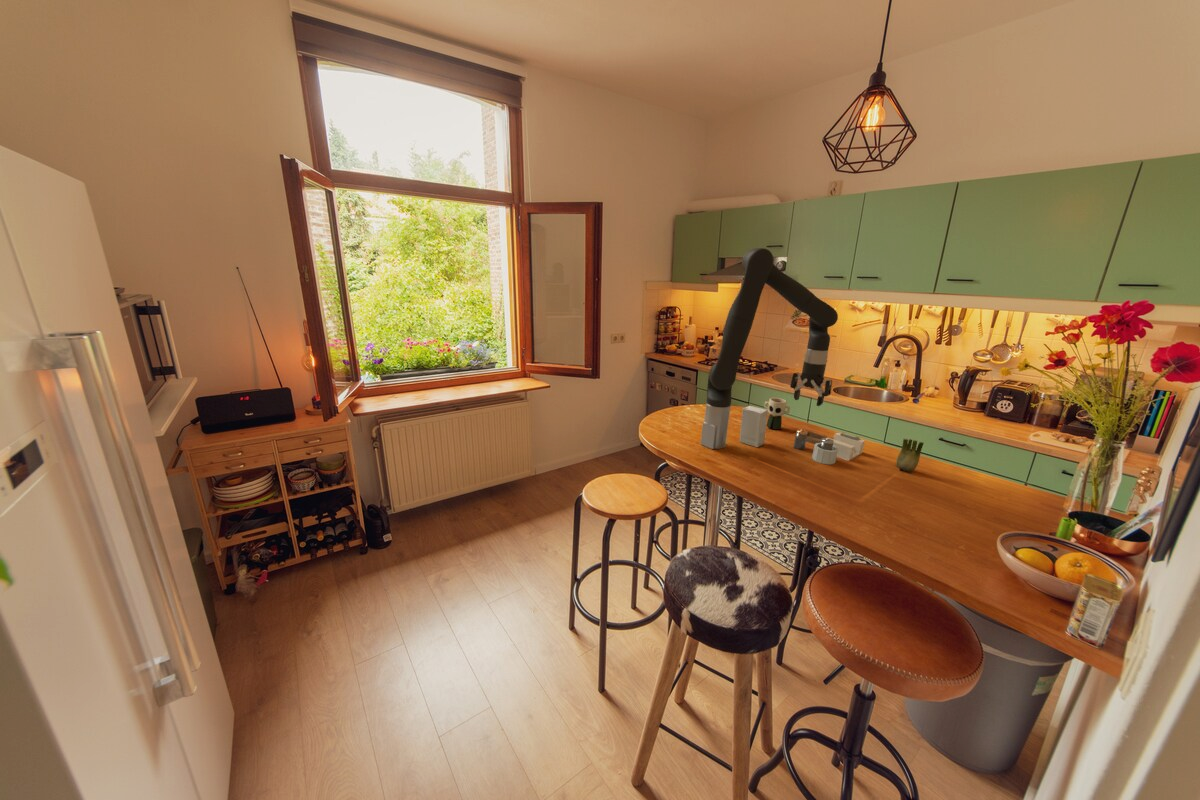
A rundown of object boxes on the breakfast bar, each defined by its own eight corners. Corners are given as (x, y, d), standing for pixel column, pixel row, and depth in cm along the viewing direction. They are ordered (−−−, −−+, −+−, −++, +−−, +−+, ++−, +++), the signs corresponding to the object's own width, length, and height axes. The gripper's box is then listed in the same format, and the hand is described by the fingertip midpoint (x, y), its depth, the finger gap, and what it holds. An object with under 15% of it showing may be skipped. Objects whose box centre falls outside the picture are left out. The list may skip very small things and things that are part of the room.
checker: (848, 462, 160) (852, 445, 157) (821, 453, 167) (824, 436, 165) (861, 454, 167) (865, 438, 165) (835, 446, 174) (838, 430, 172)
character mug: (758, 426, 193) (762, 399, 189) (764, 422, 198) (768, 395, 194) (783, 433, 186) (788, 404, 182) (788, 428, 192) (793, 401, 188)
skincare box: (764, 444, 174) (769, 409, 169) (757, 448, 170) (762, 413, 165) (745, 438, 180) (749, 404, 175) (737, 441, 176) (742, 407, 171)
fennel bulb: (916, 472, 154) (925, 441, 150) (910, 475, 152) (918, 443, 148) (899, 465, 159) (907, 435, 155) (892, 468, 156) (900, 438, 153)
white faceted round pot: (828, 468, 155) (832, 453, 153) (808, 460, 160) (811, 446, 159) (838, 462, 159) (841, 448, 157) (817, 455, 165) (820, 441, 163)
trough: (824, 449, 171) (826, 443, 170) (795, 439, 180) (796, 433, 179) (833, 444, 175) (834, 439, 175) (804, 435, 184) (805, 430, 184)
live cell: (801, 452, 167) (804, 432, 164) (791, 449, 170) (794, 429, 167) (806, 450, 170) (810, 430, 167) (796, 446, 172) (800, 427, 170)
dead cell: (826, 463, 157) (831, 441, 154) (815, 459, 160) (819, 438, 157) (831, 460, 159) (835, 439, 157) (820, 456, 162) (824, 435, 160)
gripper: (791, 358, 162) (784, 399, 167) (830, 366, 151) (821, 409, 156) (801, 356, 166) (794, 396, 171) (839, 363, 156) (830, 405, 161)
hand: (807, 402), depth 164 cm, fingers open, 8 cm apart
